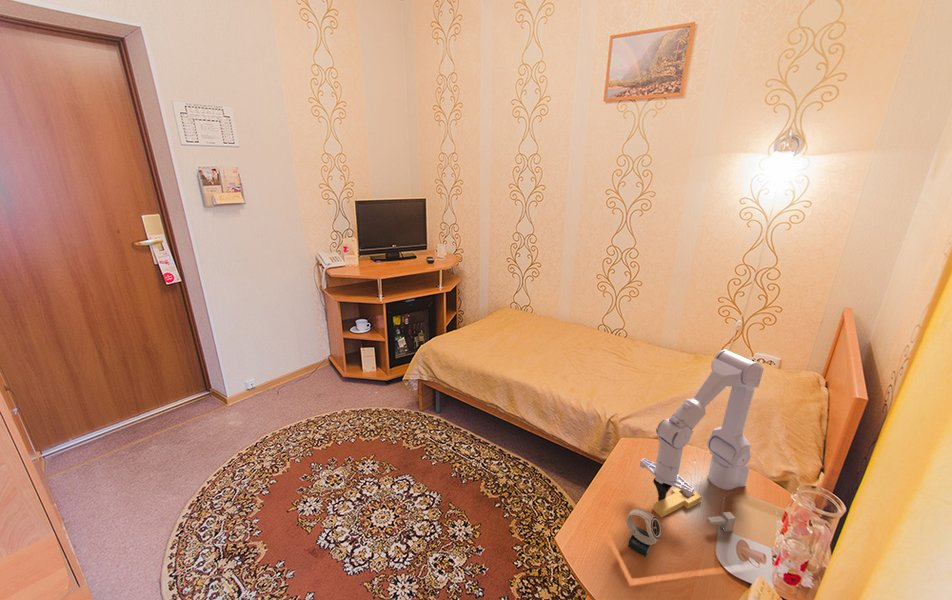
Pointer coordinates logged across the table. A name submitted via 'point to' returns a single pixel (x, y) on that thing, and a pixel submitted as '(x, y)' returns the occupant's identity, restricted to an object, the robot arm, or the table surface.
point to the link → (675, 502)
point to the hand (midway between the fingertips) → (661, 499)
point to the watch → (643, 531)
